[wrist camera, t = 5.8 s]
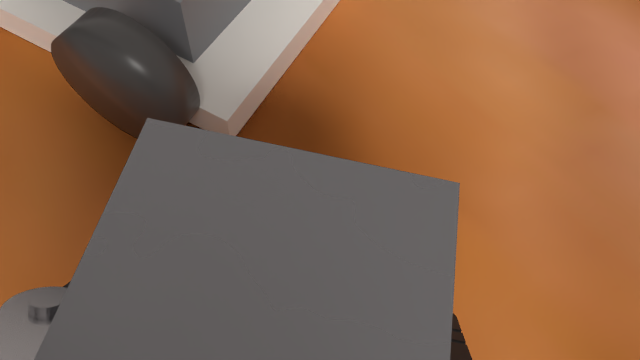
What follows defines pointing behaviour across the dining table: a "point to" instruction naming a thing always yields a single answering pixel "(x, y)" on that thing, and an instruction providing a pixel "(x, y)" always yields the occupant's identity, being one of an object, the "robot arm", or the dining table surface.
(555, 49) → the dining table surface
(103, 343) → the grey-topped square pillar
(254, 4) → the car chassis
